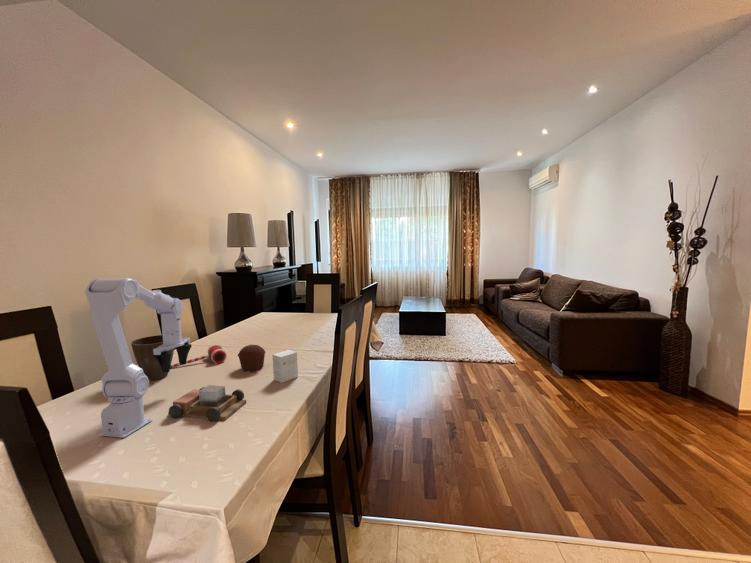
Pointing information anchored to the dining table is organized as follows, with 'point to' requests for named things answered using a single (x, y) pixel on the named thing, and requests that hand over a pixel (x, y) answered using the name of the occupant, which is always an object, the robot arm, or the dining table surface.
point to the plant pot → (149, 356)
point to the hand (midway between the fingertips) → (174, 368)
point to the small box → (285, 366)
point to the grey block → (212, 396)
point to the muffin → (251, 358)
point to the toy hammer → (209, 356)
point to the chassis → (191, 406)
